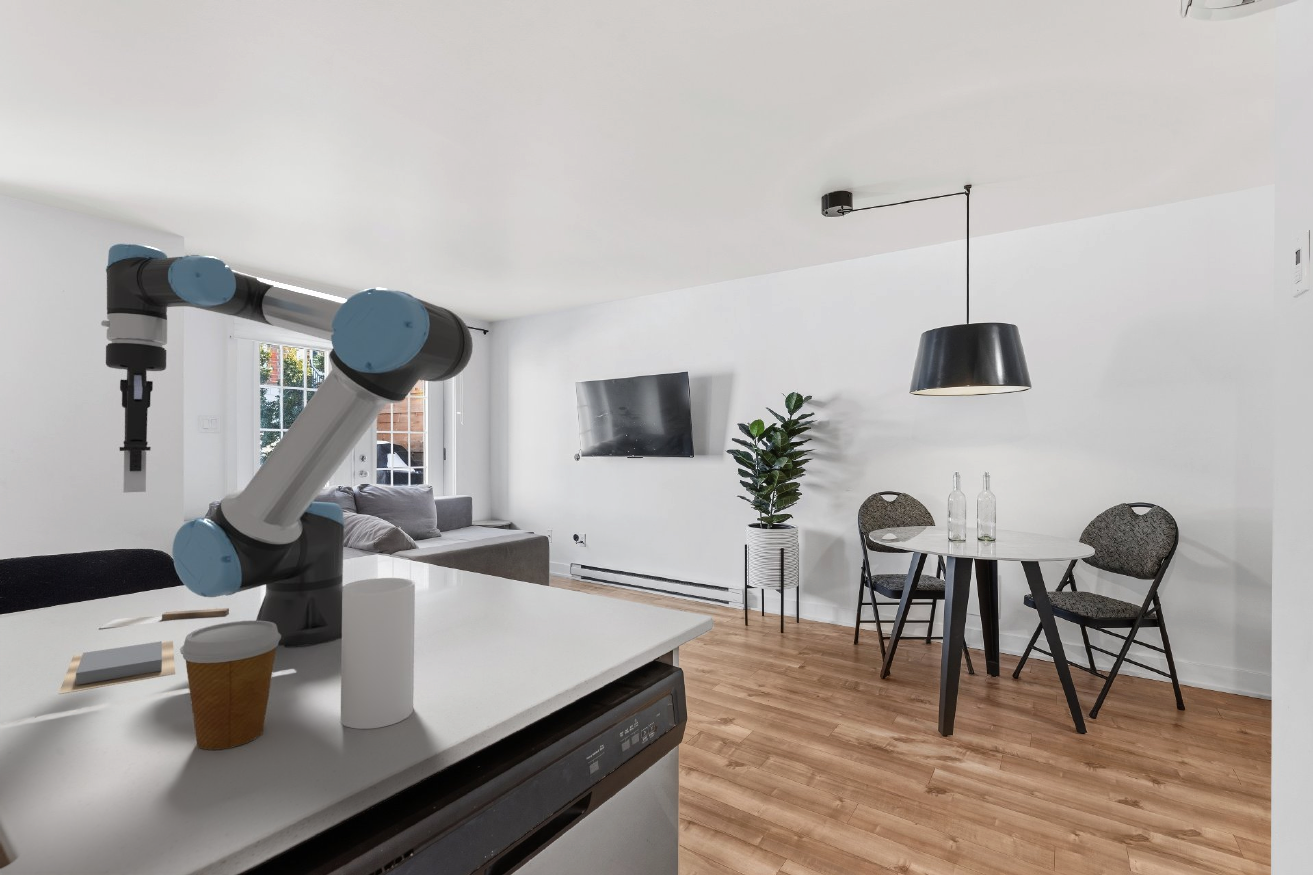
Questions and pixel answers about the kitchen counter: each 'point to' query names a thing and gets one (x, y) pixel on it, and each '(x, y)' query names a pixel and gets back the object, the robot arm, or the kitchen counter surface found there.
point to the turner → (166, 617)
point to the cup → (377, 652)
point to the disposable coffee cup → (230, 680)
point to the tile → (119, 662)
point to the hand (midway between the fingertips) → (134, 491)
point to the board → (167, 669)
